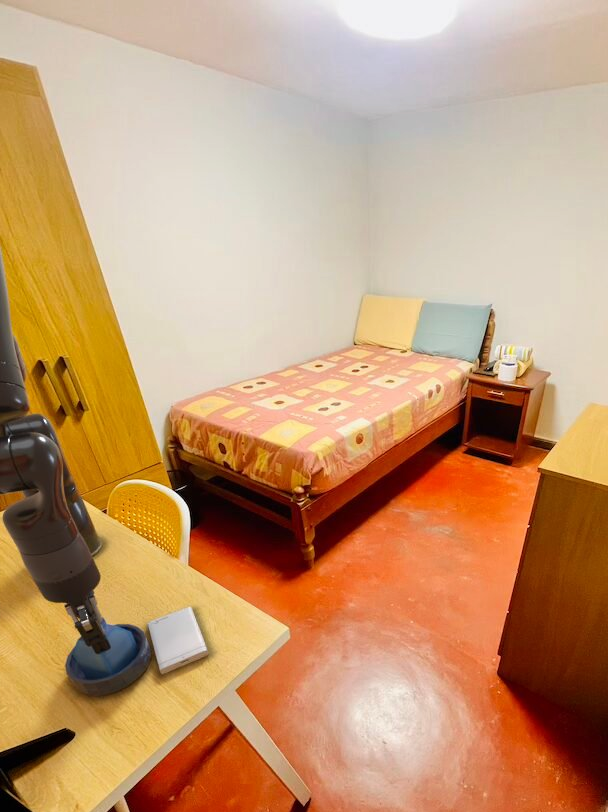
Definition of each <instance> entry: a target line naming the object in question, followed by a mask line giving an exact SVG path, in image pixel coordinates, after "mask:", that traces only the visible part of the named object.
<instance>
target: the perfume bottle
mask: <svg viewBox="0 0 608 812" xmlns="http://www.w3.org/2000/svg"><path fill="white" fill-rule="evenodd" d="M94 613H95V612H94ZM93 615H94V616H95V617H96V613H95V614H93ZM93 615H92V616H93ZM90 617H91V616H90ZM80 620H81V619H79V621H80ZM101 625H102V628H103V630H105V635H106V637H107V639H108V641H109V643H110V646H111V648H110V649H109V650H107V651H105V652H101V653H100V654H96V653H95V652H94V650H93V648H92V646H89V647H88V646H87V645H86V644H85V641H84V640H83V638H82V636H81V635H80V637H78V639H76V640H77V641H76V643H75V645H74V646H73V648H74V650H73V652H72V654H73V656H74V658H75V660H76V661H77V663H78V665H79V666H80V668H81V670H82V671H83V673H84V675H85V676H88V677H92V678H97V679H102V678H106V677H109V676H111V675H113V674H115V673H118V672H120V671H121V670H122V669H124V668H125V667H127V666H128V665H129V664H130V663H131V662H132V661H133V660H134V659H135V658H136V657H137V656H138V654H139V652H140V651H139V649H138V646H137V644H136V642H135V640H134V637H133V635H132V633H131V632H130V631H128V630H125V629H123V628H120V627H118V626H114V625H115V624H109V623H108V622H107V621H106V619H105V618H104V617H103V616H102V622H101Z"/></svg>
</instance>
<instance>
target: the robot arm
mask: <svg viewBox="0 0 608 812" xmlns="http://www.w3.org/2000/svg"><path fill="white" fill-rule="evenodd" d="M1 246H2V245H1V244H0V496H4V495H9V494H14V493H20V492H21V493H22V495H23V497H24V498H22V499H21V500H18V501H15V502H14V503H12V504H11V505H9V506H8V507H6V508H5V510H4V511H3V513H2V517H1V518H2V523H3V525H4V527H5V530H6V531H7V533H8V535H9V536H10V537H11V539H12V542H13V543H14V545H15V546H16V548H17V550H18V552H19V554H20V557H21V560H22V563H23V564H24V567H25V568H26V570H27V572H28V574H29V575H30V576H31V579H32V580H33V582H34V584H35V585H36V587H37V589H38V590H39V592H40V595H42V598H43V599H45V600H46V601H47V602H49V603H54V604H64V605H63V606H64V609H65V611H66V614H67V615H68V616H70V617H71V619H72V621H73V624H74V628H75V629H76V630H77V631H78V633H79V635H80V637H81V636H82V638H83V640H84V641H85V644H86V645H87V646H88V647H89V646H92V648H93V650H94V652H95V653H96V654H100V653H101V652H105V651H107V650H109V649H110V648H111V646H110V643H109V641H108V639H107V637H106V635H105V630H103V628H102V625H101V622H102V617H103V616H102V614H101V612H100V609H99V607H98V600H97V597H96V594H95V593H96V592H95V589H96V588H97V587H98V586H99V584H100V582H101V573H100V570H99V568H98V565H97V563H96V562H95V559H94V557H93V556H94V555H96V554H97V553H99V552H100V550H101V549H102V546H103V542H102V540H101V539H100V537H99V534H98V532H97V530H96V527H95V525H94V523H93V521H92V518H91V516H90V513H89V511H88V508H87V506H86V504H85V501H84V499H83V497H82V494H81V493H80V490H79V488H78V485H77V483H76V481H75V479H74V477H73V474H72V472H71V470H70V467H69V465H68V462H67V459H66V457H65V454H64V451H63V448H62V445H61V442H60V439H59V438H58V434H57V432H56V429H55V428H54V426H53V424H52V423H51V421H50V420H49V419H48V418H47V417H46V416H45V415H43V414H41V413H29V412H30V410H31V409H30V408H31V406H30V405H31V404H30V399H29V396H28V392H27V388H26V385H25V383H26V379H27V367H26V364H25V361H24V357H23V355H22V352H21V349H20V345H19V343H18V339H17V338H16V337H15V335H14V334H13V328H12V327H13V326H12V317H11V309H10V308H11V307H10V299H9V291H8V284H7V278H6V271H5V264H4V258H3V252H2V247H1ZM94 612H95V613H96V617H95V616H94V615H93V614H95V613H94ZM92 615H93V616H92ZM90 616H91V617H90ZM80 619H81V620H80Z"/></svg>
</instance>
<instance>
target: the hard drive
mask: <svg viewBox="0 0 608 812" xmlns="http://www.w3.org/2000/svg"><path fill="white" fill-rule="evenodd" d="M147 627H148V631H149V635H150V638H151V642H152V647H153V650H154V654H155V659H156V661H157V666H158V669H159V672H160V674H161V675H165V674H167V673H169V672H172V671H174V670H176V669H179V668H181V667H184V666H185V665H188V664H190V663H193V662H195V661H197V660H200V659H202V658H204V657H207V656H208V655H209V650H208V647H207V644H206V642H205V639H204V636H203V634H202V632H201V629H200V626H199V624H198V620H197V618H196V616H195V613H194V610H193V607H192V606H187V607H185V608H182V609H180V610H177V611H174V612H172V613H169V614H166V615H163V616H161V617H158V618H156V619H153V620H151V621H148V622H147Z"/></svg>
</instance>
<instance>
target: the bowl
mask: <svg viewBox="0 0 608 812" xmlns="http://www.w3.org/2000/svg"><path fill="white" fill-rule="evenodd" d="M113 625H114V626H118V627H120V628H123V629H125V630H128V631H130V632H131V633H132V635H133V637H134V640H135V642H136V644H137V646H138V649H139V651H140V652H139V654H138V656H137V657H136V658H135V659H134V660H133V661H132V662H131V663H130V664H129V665H128V666H127V667H125V668H124V669H122V670H121V671H120V672H118V673H115V674H113V675H111V676H109V677H106V678H102V679H97V678H92V677H88V676H85V675H84V673H83V671H82V670H81V668H80V666H79V665H78V663H77V661H76V660H75V658H74V656H73V654H72V652H73V650H74V647H73V648H72V649H71V651H70V652H69V654H68V655H67V657H66V661H65V664H64V668H65V673H66V675H67V677H68V679H69V680H70V682H71V684H72V685H73V686H74V688H75V689H76V690H77V691H78V692H79V693H80V694H83V695H86V696H88V697H102V696H106V695H111V694H114V693H117V692H119V691H121V690H123V689H126V688H127V687H129V686H130V685H132V684H133V683H134V682H135V681H137V680H138V679H139V678H141V676H142V675H143V673H145V671H146V670H147V668H148V666H149V665H150V663H151V660H152V648H151V646H150V643H149V641H148V638H147V636H146V633H145V631H143V629H141V628H140V627H139V626H136V625H134V624H130V623H116V624H113Z"/></svg>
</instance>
